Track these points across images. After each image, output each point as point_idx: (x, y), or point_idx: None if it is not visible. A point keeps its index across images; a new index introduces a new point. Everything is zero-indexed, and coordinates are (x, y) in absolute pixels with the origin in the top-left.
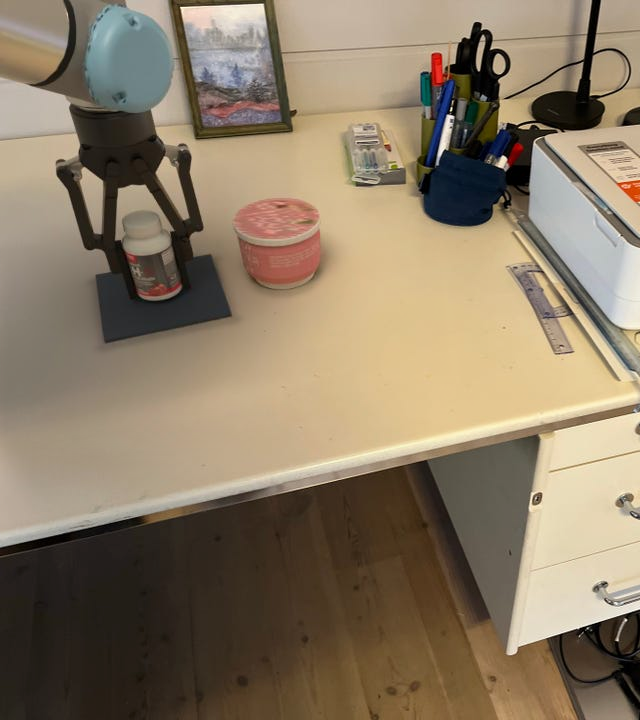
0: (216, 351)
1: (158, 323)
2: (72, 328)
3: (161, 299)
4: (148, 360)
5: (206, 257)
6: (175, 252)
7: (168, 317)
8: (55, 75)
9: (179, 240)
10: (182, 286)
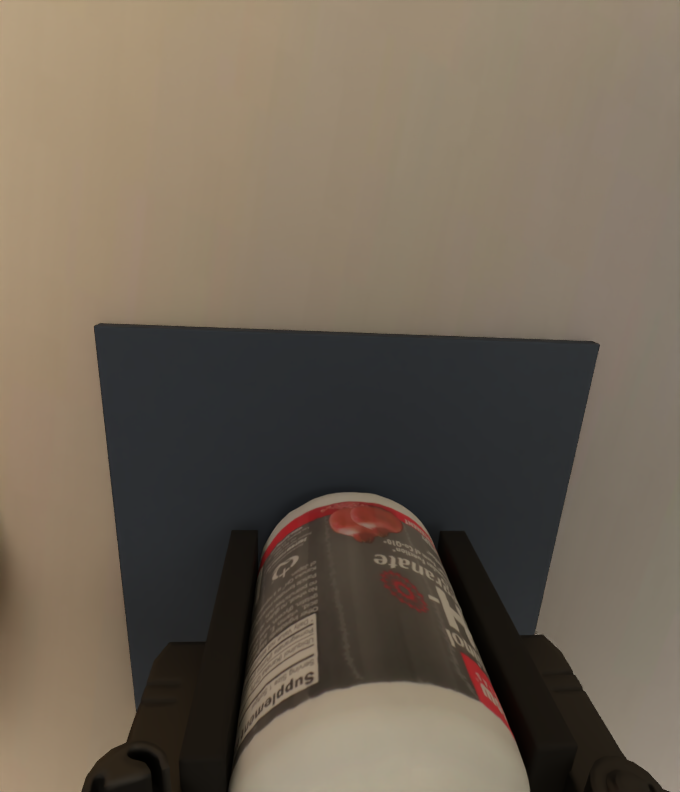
0: (196, 81)
1: (393, 373)
2: (657, 467)
3: (356, 492)
4: (480, 152)
5: None
6: (234, 689)
7: (349, 397)
8: None
9: (169, 767)
10: None
